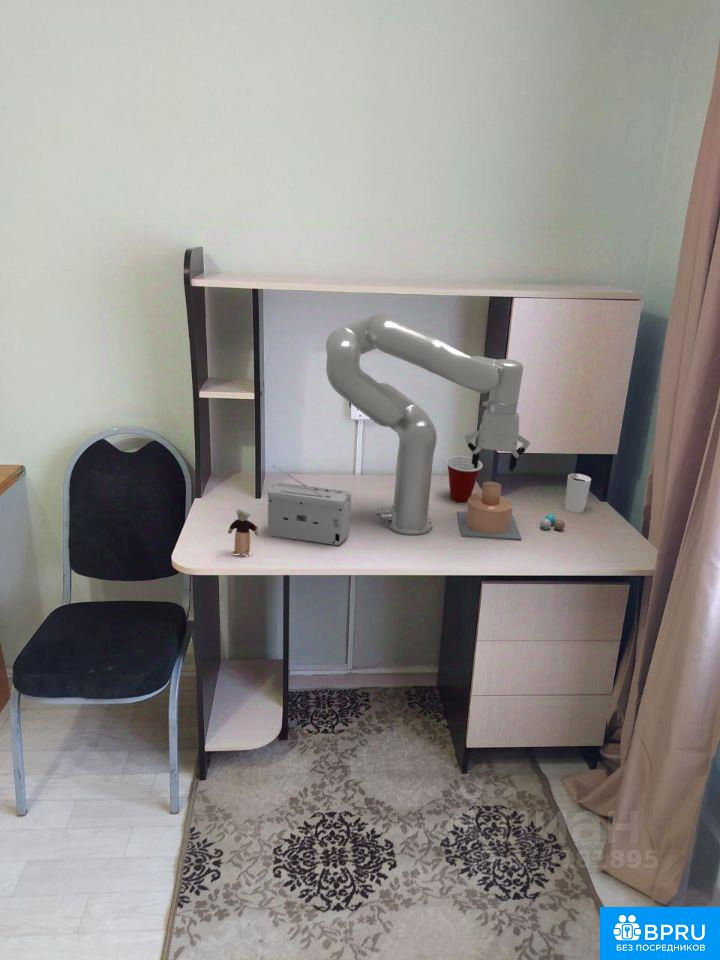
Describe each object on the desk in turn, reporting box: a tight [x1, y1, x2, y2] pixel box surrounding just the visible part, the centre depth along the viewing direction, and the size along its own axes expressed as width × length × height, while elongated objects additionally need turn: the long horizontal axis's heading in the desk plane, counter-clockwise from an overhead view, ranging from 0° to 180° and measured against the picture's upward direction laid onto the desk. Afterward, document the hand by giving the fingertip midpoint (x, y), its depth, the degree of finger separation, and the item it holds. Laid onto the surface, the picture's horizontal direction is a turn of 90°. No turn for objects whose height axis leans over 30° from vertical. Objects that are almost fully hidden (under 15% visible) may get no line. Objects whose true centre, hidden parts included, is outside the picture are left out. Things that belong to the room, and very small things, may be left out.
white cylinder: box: [564, 473, 592, 514], centre depth 217 cm, size 7×7×10 cm
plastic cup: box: [446, 455, 483, 503], centre depth 219 cm, size 11×11×12 cm
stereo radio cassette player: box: [267, 464, 352, 546], centre depth 188 cm, size 21×8×20 cm, turn 78°
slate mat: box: [456, 510, 522, 541], centre depth 203 cm, size 16×16×1 cm
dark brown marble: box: [553, 519, 566, 531], centre depth 203 cm, size 3×3×3 cm
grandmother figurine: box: [227, 506, 260, 555], centre depth 178 cm, size 8×4×13 cm, turn 95°
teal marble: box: [544, 513, 557, 526], centre depth 207 cm, size 3×3×3 cm
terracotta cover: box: [465, 481, 513, 534], centre depth 201 cm, size 12×12×12 cm
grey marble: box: [539, 517, 552, 530], centre depth 203 cm, size 3×3×3 cm
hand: (492, 468), depth 197 cm, fingers open, 9 cm apart
